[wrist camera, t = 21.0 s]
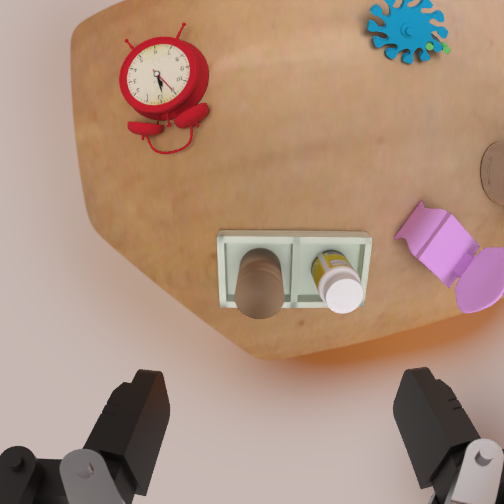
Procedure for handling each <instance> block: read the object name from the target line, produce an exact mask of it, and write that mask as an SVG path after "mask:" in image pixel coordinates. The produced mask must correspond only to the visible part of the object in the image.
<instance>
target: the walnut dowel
mask: <svg viewBox="0 0 504 504" xmlns="http://www.w3.org/2000/svg"><path fill="white" fill-rule="evenodd" d="M284 298H285V297H284V287H283V280H282V272H281V265H280V261H279V259H278V257H277V256H276V254H275V253H273V252H272V251H270V250H268V249H265V248H256V249H252V250H250V251H248V252H247V253H246V254H245V255H244V256H243V257H242V259H241V262H240V267H239V272H238V278H237V283H236V288H235V294H234V299H235V303H236V306H237V307H238V309H239V310H240V311H241V312H242V313H243V314H244V315H246V316H248V317H250V318H254V319H265V318H269V317H271V316H273V315H275V314H276V313H277V312H278V311H279V310H280V309H281V307H282V306H283V303H284Z"/></svg>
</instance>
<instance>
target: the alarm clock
mask: <svg viewBox="0 0 504 504" xmlns="http://www.w3.org/2000/svg"><path fill="white" fill-rule="evenodd" d="M185 25H186V23H182V27H181V29H180V31H179V32H178V35H177V37H176V38H173V37H156V38H152V39H149V40H146V41H144V42H142V43H141V44H139V45H138V46H136V47H135V48H134V47H133V46H132V45H131V44H130V43H129V42H128V39H126V40H125V42H127V43H128V45H129V46H130V48H131V49H132V51H131V52H130V53H129V55H128V56H127V57H126V59H125V61H124V62H123V65H122V67H121V71H120V76H119V83H120V89H121V92H122V94H123V96H124V98H125V100H126V101H127V102H128V103H129V104H130V105H131V106H132V107H133V108H134V109H135V110H136V111H137V112H138V113H140V114H141V115H143V116H145V117H147V118H150V119H155V120H158V122H159V120H167V121H168V125H167V127H171V124H170V122H169V120H170V119H174V118H175V120H174V123H175V125H176V126H177V127H179V128H187V127H190V126H191V131H190V140H189V142H188V143H187V144H186V145H185V146H184V147H182V148H180V149H178V150H174V151H169V152H161V151H158V150H156V149H155V148H154V147H153V146H152V144H151V142H150V140H149V137H148V135H157V134H159V133H160V132H161V131H162V129H163V125H158V122H157V124H149V123H140V122H128V129H129V130H130V131H131V132H132V133H136V134H140V135H142V140H144V136H145V137H147V140H148V143H149V145H150V147H151V148H152V149H153V150H154V151H155V152H157V153H160V154H170V153H175V152H178V151H181V150H183V149H185V148H186V147H188V146H189V144H190V143H191V141H192V137H193V125H194V124H196V126H197V127H199V124H198V122H199V121H201V120H202V119H204V118H205V117H206V116H207V114H208V112H209V107H208V105H207V103H201V104H198V105H197V103H198V102H199V101H200V100H201V98H202V97H203V95H204V93H205V91H206V88H207V85H208V79H209V70H208V65H207V62H206V60H205V58H204V56H203V55H202V53H201V52H200V51H199V50H198V49H197V48H196V47H195V46H193V45H192V44H190V43H188V42H185V41H182V40H179V39H178V38H179V36H180V34H181V31H182V29H183V27H184V26H185Z"/></svg>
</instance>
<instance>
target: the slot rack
mask: <svg viewBox="0 0 504 504" xmlns="http://www.w3.org/2000/svg"><path fill="white" fill-rule="evenodd" d="M371 247H372V237H371V236H370V235H369V234H368V233H367V232H366V231H303V230H220V231H219V233H218V235H217V256H218V278H219V298H220V307H233V308H238V307H237V306H236V303H235V299H234V294H235V288H236V283H237V278H238V272H239V267H240V262H241V259H242V257H243V256H244V255H245V254H246V253H247V252H248V251H250V250H252V249H256V248H265V249H268V250H270V251H272V252H273V253H275V254H276V256H277V257H278V259H279V261H280V265H281V272H282V280H283V287H284V297H285V298H284V303H283V306H282V307H281V308H327V307H328V306H327V304H326V303H325V302H324V301H323V300H322V299H321V297H320V296H319V293H318V290H317V288H316V285H315V282H314V280H313V277H312V274H311V264H312V261H313V260H314V258H315V257H316V256H317V255H318V254H319V253H321V252H322V251H325V250H337V251H339V252H341V253H342V254H343V255H344V256H345V257H346V259H347V260H348V261H349V263H350V264H351V265H352V267H353V268H354V270H355V271H356V272H357V274H358V276H359V278H360V282H361V287H362V289H363V298H362V301H361V303H360V305H359V306H358V307H364V301H365V294H366V287H367V280H368V272H369V264H370V256H371Z"/></svg>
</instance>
